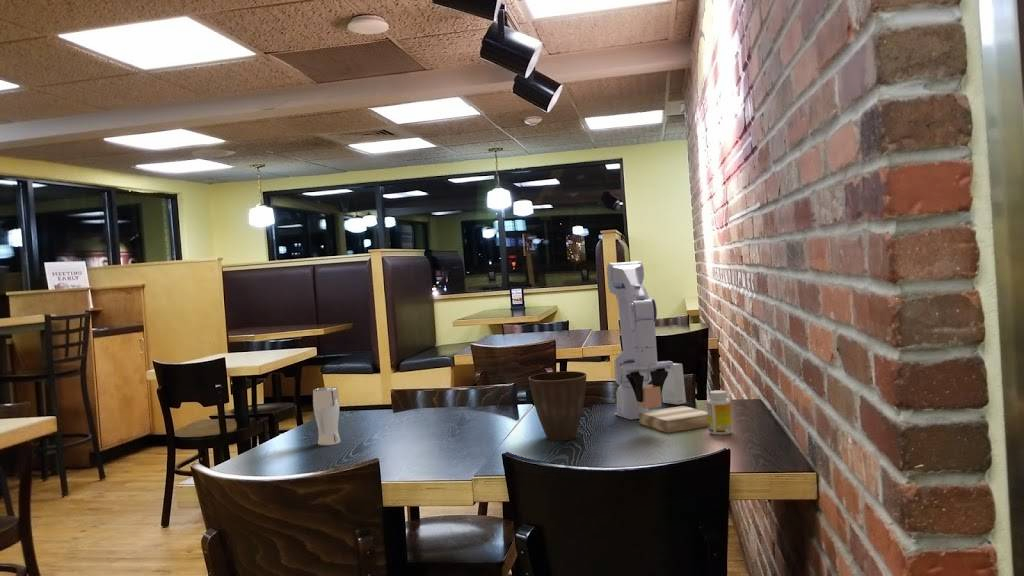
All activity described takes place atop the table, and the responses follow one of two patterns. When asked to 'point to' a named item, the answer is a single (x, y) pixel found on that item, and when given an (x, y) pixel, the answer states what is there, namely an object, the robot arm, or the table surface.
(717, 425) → the supplement bottle
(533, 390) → the plant pot
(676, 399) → the skincare box
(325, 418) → the beer glass
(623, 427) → the table surface
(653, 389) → the terracotta block
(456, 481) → the table surface
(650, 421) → the maple base
